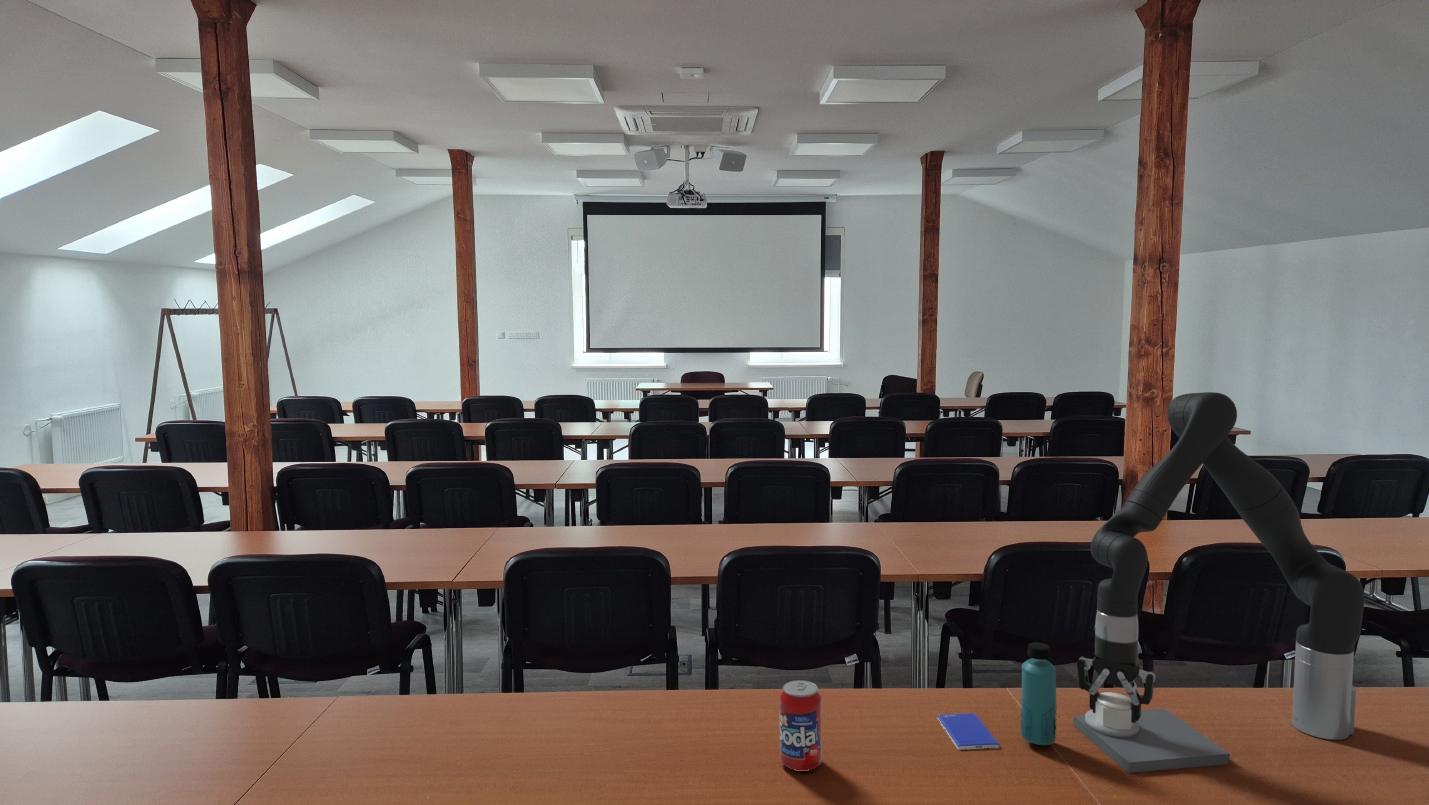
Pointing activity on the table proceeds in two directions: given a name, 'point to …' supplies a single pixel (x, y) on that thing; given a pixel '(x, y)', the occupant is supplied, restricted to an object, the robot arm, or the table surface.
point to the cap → (1114, 711)
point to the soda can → (800, 725)
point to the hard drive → (967, 731)
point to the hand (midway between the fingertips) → (1114, 716)
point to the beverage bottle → (1038, 696)
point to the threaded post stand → (1153, 743)
